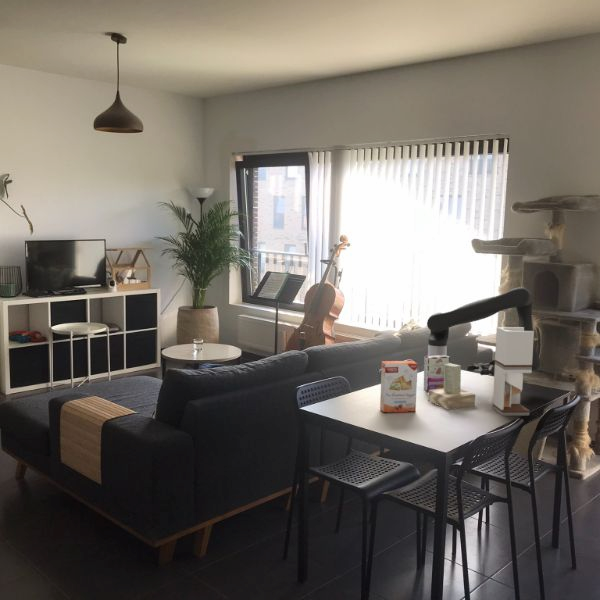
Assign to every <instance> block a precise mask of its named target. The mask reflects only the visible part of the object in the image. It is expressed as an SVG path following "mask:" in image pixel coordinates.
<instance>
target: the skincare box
mask: <svg viewBox="0 0 600 600" xmlns="http://www.w3.org/2000/svg"><path fill="white" fill-rule="evenodd" d="M461 369H462V367H461V365H460V364H456V363H451V362H450V363H449V364H444V391H445V392H449V393H452V394H456V393H460V389H461V386H462V385H461V382H462V381H461V380H462V378H461V377H462V375H461V373H462V372H461V371H462V370H461Z"/></svg>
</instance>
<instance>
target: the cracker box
mask: <svg viewBox="0 0 600 600" xmlns="http://www.w3.org/2000/svg"><path fill="white" fill-rule="evenodd" d="M418 366H419V365H418V363H417V362H415V361H414V360H391V361H390V360H385V361H383V360H382V361H381V375H380V378H381V379H380V397H379V398H380V399H379V400H380V401H379V403H380V404H379V408H380V410H381V412H382V413H383V412H395V413H409V412H408V411H415V412H416V408H417V404H416V403H417V389H418V388H417V387H418V386H417V385H418V384H417V383H418Z"/></svg>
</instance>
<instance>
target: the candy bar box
mask: <svg viewBox="0 0 600 600" xmlns="http://www.w3.org/2000/svg"><path fill="white" fill-rule="evenodd" d="M450 357H451V356H449V355H433V356H428V355H424V357H423V359H424V360H423V363H424V364H423V390H424V391H426V392H428V393H429V390H433V389H441V388H444V364H449V363H451V361H450V359H451V358H450Z"/></svg>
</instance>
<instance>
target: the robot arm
mask: <svg viewBox="0 0 600 600" xmlns="http://www.w3.org/2000/svg"><path fill="white" fill-rule="evenodd" d="M513 308H514V309H515V308H516V311H517V317H518V320H517V321H518V322H517V323H518V324H517V327H524V331H534V327H533V326H534V325H533V315H532V313H533V311H532V310H533V294H532V292H531V291H530V290H529V289H527V288H525V287H523V286H522V287H520V286H519V287H516V288H513V289H511V290H508V291H506V292H504V293H501V294H499V295H495V296H490V297H487V298H481V299H478V300H475V301H473V302H470V303H466V304H463V305H462V306H460V307H457V308H456V309H454V310H451V311H447V312H436V313H434V314H432V315H430V316H429V317H428V319H427V320H426V321H427V322H426V326H427V328H428V330H429V331H430V334H429V337H428V339H427V340H428V342H427V343H428V345H427V349H428V350H427V356H433V355H447V350H448V349H447V348H448V340H449V332H450V328H451V327H456V326H458V325H464V324H468V323H469V324H470V323H473V322H476V321H477V322H478V321H480V320H484V319H487V318H489V317H492V316H493V315H495V314H498V313H499V312H501V311H504V310H508V309H513ZM447 356H448V355H447ZM541 362H542V361H541V358H540V356H539V353H538V349H537V348H536V344H535V338H534V339H533V357H532V373H533V372H535V373H536V372H538V371H539V370H540V368H541V366H542V363H541ZM466 367H467V372H468V371H469V372H471V371H472V372H473V371H478V372H480V373H479V374H480V376H487V375H488V376H493V377H494V373H495V359H492V360H491V361H490V362H489V363H483V362H477V363H476V362H475V363H472V364H471V365H467V366H466Z"/></svg>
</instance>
